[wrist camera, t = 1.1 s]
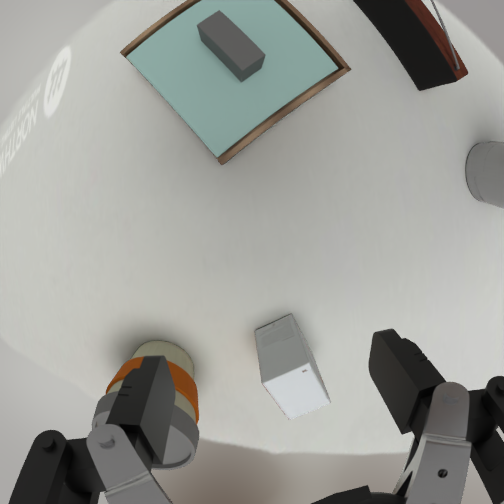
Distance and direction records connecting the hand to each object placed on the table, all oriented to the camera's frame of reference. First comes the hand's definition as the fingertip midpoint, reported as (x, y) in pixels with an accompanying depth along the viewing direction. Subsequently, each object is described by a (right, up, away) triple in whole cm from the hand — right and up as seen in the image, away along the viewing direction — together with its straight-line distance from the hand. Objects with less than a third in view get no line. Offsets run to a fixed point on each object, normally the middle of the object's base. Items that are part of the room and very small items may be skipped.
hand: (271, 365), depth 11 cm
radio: (+17, +33, +17) cm, 41 cm away
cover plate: (-3, +23, +13) cm, 27 cm away
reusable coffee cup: (-14, -12, +30) cm, 35 cm away
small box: (+4, -8, +29) cm, 31 cm away
